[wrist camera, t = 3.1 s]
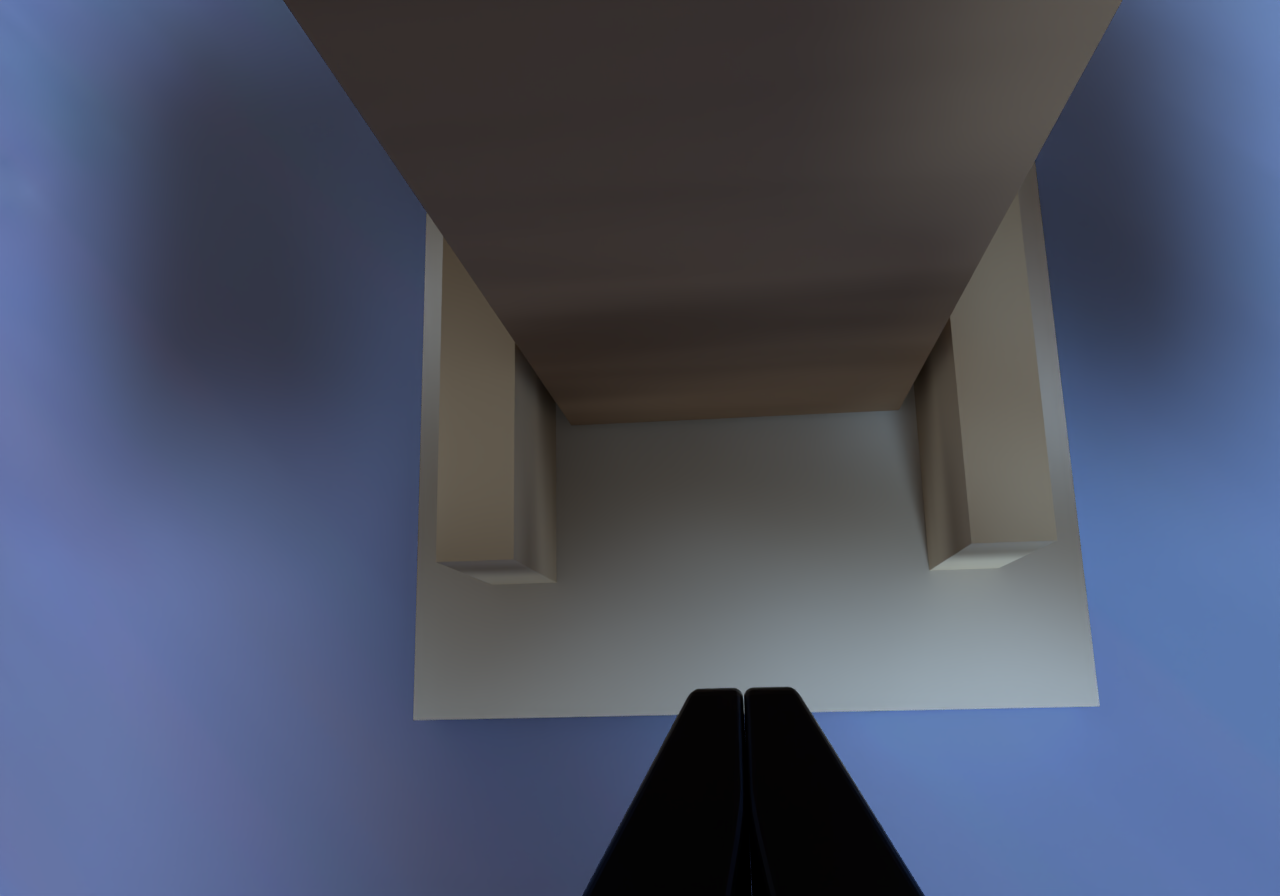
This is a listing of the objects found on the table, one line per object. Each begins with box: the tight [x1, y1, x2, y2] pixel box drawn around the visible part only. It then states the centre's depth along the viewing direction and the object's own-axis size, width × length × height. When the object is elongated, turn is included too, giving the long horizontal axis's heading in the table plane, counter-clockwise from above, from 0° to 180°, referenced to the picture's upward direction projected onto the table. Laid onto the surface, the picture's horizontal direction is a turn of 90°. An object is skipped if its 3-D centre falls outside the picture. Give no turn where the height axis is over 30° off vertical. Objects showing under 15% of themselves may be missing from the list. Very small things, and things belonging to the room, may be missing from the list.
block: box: [283, 0, 1122, 426], centre depth 11 cm, size 6×5×11 cm
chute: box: [413, 161, 1100, 720], centre depth 16 cm, size 18×10×4 cm, turn 1°
